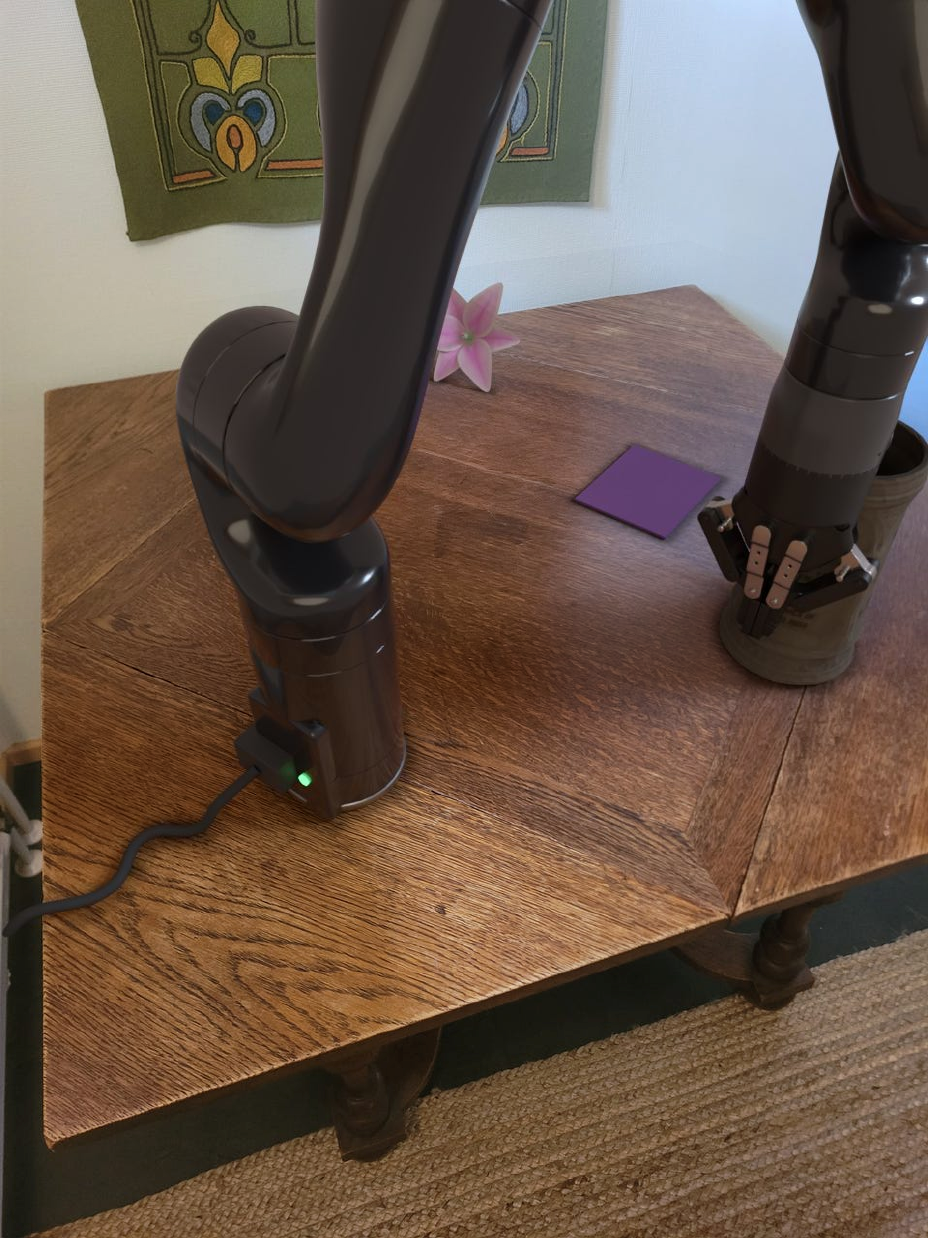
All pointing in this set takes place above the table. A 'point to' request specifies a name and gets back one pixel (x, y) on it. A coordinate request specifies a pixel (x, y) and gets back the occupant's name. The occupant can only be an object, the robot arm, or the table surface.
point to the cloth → (648, 490)
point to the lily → (472, 336)
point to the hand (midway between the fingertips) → (754, 630)
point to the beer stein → (829, 632)
